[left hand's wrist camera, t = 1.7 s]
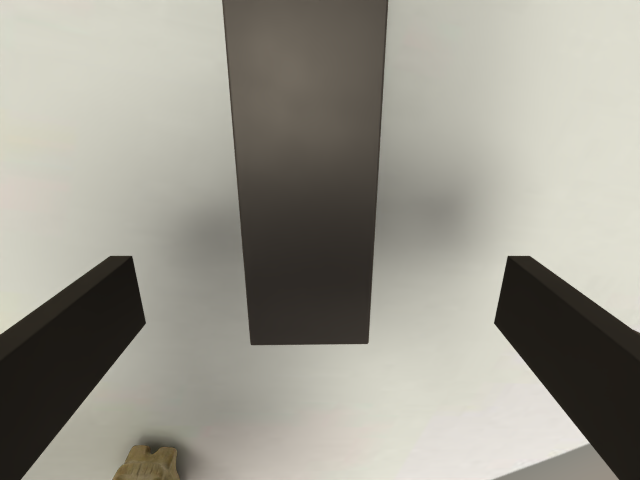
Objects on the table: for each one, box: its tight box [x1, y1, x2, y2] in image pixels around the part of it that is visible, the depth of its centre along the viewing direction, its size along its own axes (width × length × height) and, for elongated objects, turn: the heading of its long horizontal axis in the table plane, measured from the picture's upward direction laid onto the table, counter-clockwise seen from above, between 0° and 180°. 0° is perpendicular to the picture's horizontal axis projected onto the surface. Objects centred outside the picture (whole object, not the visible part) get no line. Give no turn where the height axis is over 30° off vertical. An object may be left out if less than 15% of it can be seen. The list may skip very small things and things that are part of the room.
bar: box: [222, 0, 388, 345], centre depth 16 cm, size 23×5×9 cm, turn 0°
